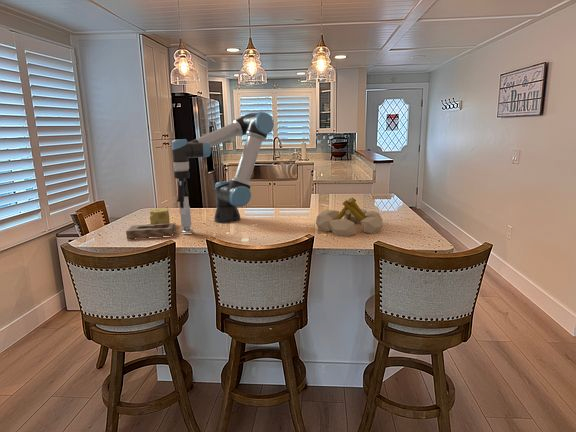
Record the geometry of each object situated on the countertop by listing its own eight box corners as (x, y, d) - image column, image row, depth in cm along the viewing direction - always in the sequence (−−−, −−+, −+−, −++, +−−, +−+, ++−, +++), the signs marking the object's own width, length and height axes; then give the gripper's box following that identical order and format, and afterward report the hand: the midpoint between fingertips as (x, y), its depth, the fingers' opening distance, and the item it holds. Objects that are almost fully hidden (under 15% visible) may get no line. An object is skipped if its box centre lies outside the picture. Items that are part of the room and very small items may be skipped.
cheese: (150, 230, 222) (148, 212, 220) (151, 225, 232) (149, 208, 230) (170, 228, 225) (168, 210, 222) (170, 224, 235) (168, 207, 232)
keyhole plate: (175, 231, 218) (174, 223, 217) (171, 237, 206) (170, 228, 205) (133, 233, 215) (132, 225, 214) (127, 239, 204) (126, 231, 203)
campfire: (329, 240, 193) (329, 205, 189) (307, 224, 225) (307, 193, 221) (395, 232, 202) (396, 199, 198) (365, 218, 234) (365, 189, 230)
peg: (193, 231, 216) (191, 205, 213) (192, 234, 210) (190, 208, 207) (182, 232, 215) (179, 206, 212) (180, 235, 209) (178, 208, 206)
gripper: (177, 168, 217) (180, 207, 221) (169, 173, 193) (173, 216, 197) (192, 167, 218) (194, 206, 222) (185, 172, 193) (188, 216, 198)
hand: (184, 211), depth 210 cm, fingers open, 13 cm apart
